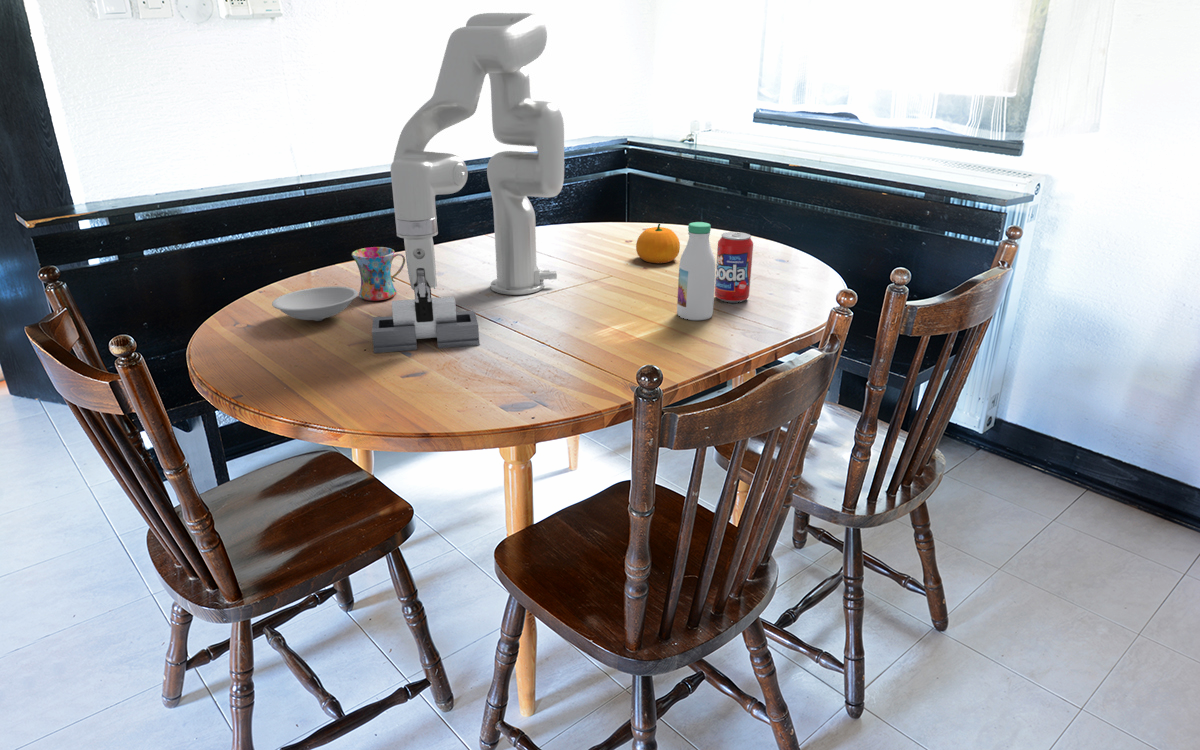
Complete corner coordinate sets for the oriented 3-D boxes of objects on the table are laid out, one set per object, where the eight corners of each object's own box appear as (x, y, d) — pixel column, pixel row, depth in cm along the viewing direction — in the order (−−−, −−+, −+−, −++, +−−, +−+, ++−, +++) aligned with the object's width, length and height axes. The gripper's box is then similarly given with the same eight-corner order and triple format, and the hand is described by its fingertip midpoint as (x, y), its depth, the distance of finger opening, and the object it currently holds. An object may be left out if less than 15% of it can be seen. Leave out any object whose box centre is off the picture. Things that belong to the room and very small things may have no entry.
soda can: (752, 296, 184) (758, 233, 178) (743, 306, 177) (748, 240, 171) (720, 292, 187) (724, 229, 181) (709, 301, 180) (713, 236, 174)
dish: (292, 338, 158) (288, 315, 156) (264, 320, 168) (260, 298, 166) (373, 319, 169) (370, 296, 167) (342, 303, 178) (339, 281, 176)
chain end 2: (475, 327, 164) (474, 309, 162) (479, 345, 155) (478, 325, 153) (436, 330, 162) (434, 312, 161) (438, 348, 153) (436, 328, 152)
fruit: (687, 258, 215) (688, 222, 211) (666, 268, 206) (667, 230, 202) (649, 252, 220) (650, 216, 216) (627, 262, 211) (628, 224, 207)
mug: (366, 306, 177) (361, 259, 172) (351, 295, 183) (345, 250, 179) (416, 296, 183) (412, 251, 179) (399, 286, 190) (395, 243, 186)
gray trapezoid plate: (456, 329, 160) (453, 296, 158) (457, 335, 157) (455, 301, 154) (395, 333, 158) (391, 300, 155) (395, 340, 154) (391, 306, 151)
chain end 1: (416, 332, 161) (414, 313, 160) (416, 349, 153) (415, 330, 151) (375, 335, 160) (373, 316, 158) (373, 353, 151) (371, 333, 149)
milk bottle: (715, 312, 174) (721, 221, 166) (708, 323, 167) (714, 229, 159) (681, 308, 176) (685, 218, 168) (672, 319, 170) (676, 226, 162)
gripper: (439, 236, 141) (446, 326, 148) (435, 216, 157) (442, 298, 164) (395, 238, 140) (404, 329, 147) (396, 217, 155) (404, 301, 162)
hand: (424, 313), depth 155 cm, fingers open, 9 cm apart
